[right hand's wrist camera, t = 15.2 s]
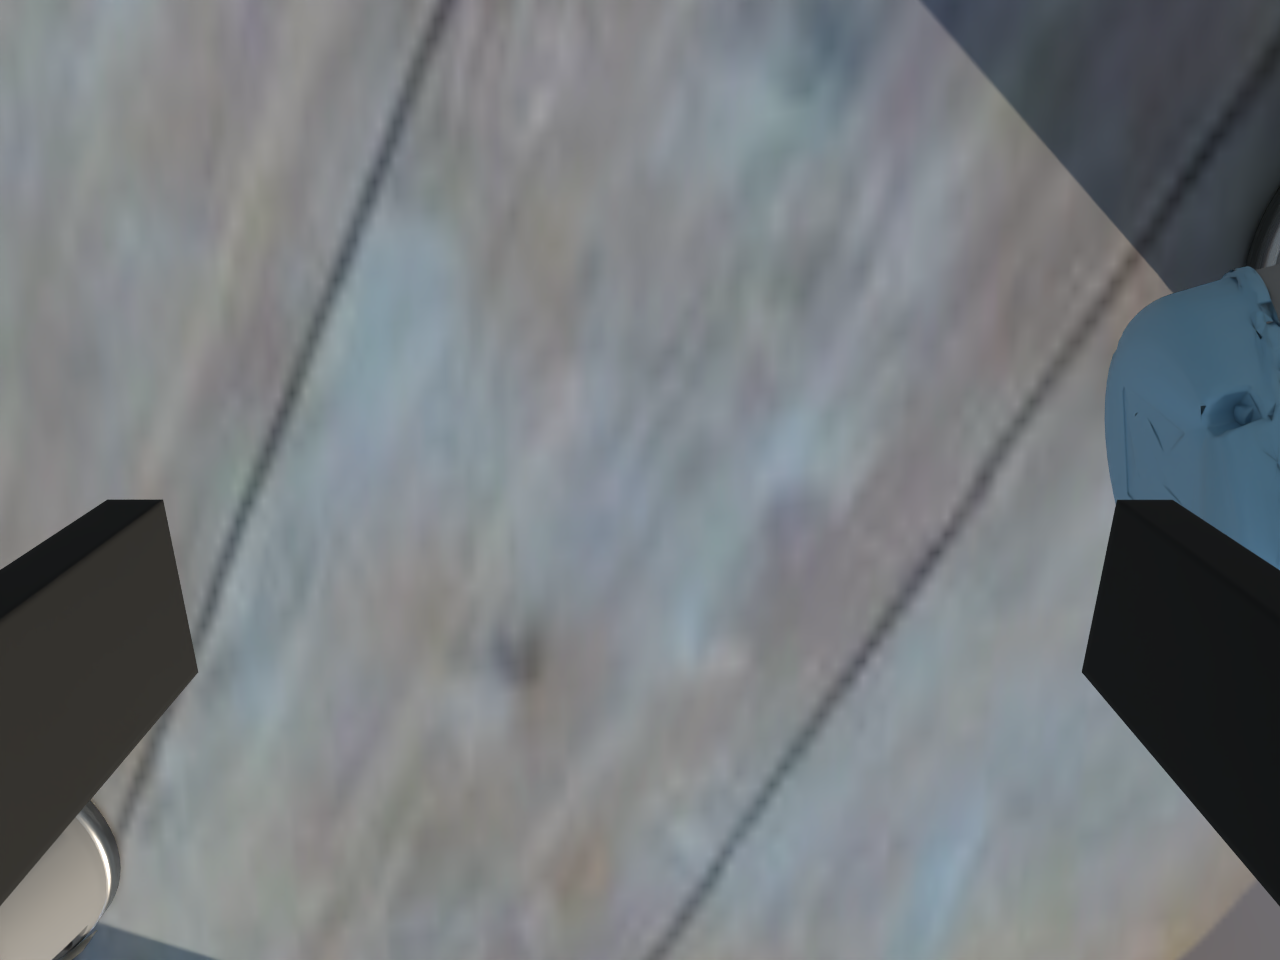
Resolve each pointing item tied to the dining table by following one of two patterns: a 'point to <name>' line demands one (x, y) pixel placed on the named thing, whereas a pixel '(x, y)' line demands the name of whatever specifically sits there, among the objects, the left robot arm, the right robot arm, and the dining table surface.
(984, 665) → the dining table surface
